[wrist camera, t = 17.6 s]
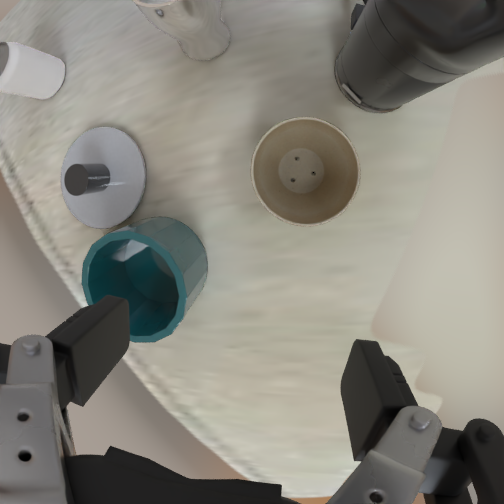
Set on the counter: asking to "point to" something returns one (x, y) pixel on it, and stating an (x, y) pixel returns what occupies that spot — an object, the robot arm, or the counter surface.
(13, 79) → the can
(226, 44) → the beer glass
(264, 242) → the counter surface
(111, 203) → the lid
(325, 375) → the counter surface
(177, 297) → the canister
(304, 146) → the flower pot
